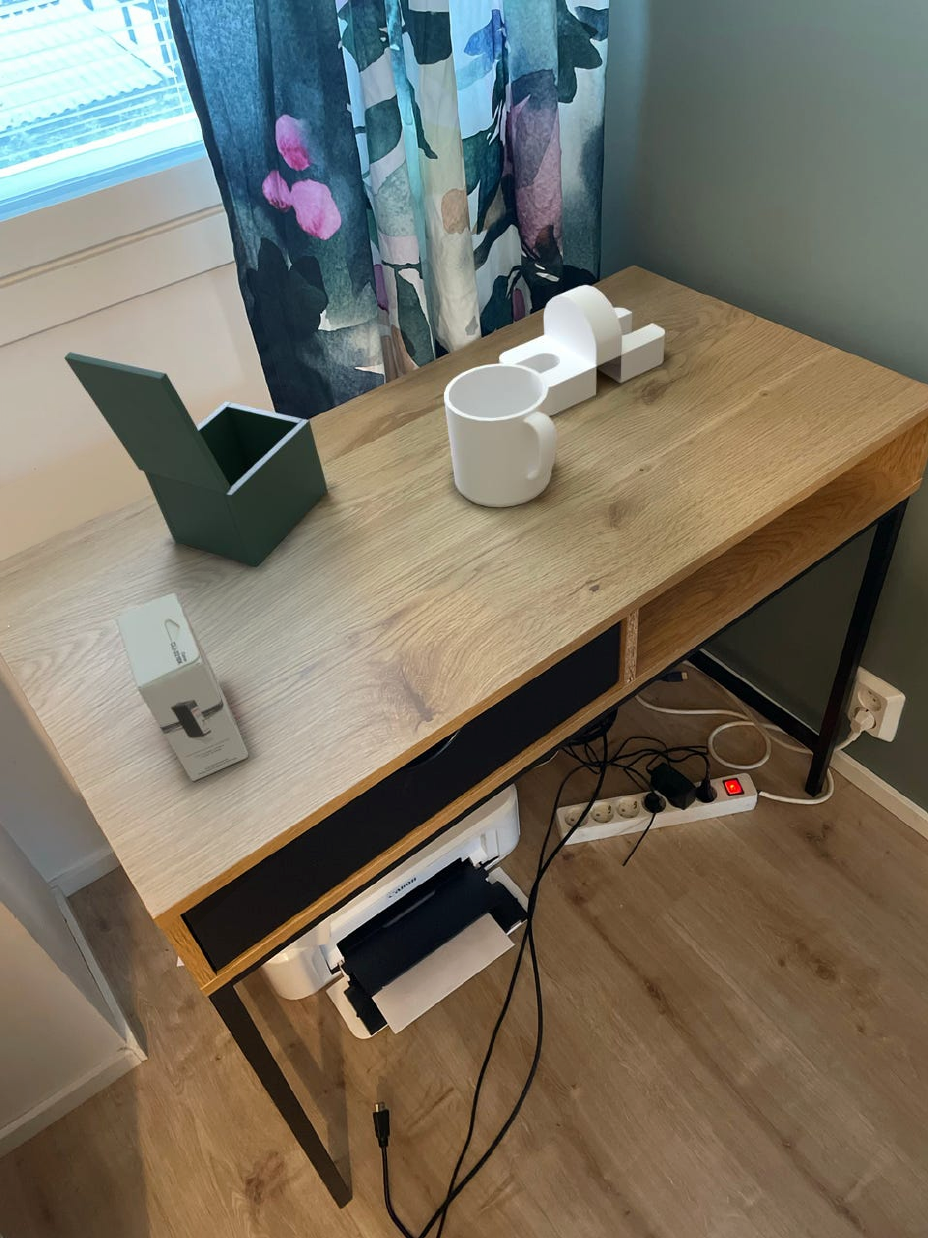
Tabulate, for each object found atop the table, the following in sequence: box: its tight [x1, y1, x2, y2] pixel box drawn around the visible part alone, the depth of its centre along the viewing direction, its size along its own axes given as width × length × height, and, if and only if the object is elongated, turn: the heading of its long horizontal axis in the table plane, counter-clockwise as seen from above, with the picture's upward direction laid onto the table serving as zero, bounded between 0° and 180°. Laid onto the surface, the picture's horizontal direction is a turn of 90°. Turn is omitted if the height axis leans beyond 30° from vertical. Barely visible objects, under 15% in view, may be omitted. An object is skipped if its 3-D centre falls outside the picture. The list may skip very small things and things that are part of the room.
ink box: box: [114, 592, 249, 782], centre depth 69 cm, size 8×5×12 cm, turn 27°
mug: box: [443, 363, 558, 508], centre depth 88 cm, size 13×10×10 cm
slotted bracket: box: [498, 284, 666, 416], centre depth 102 cm, size 18×10×10 cm, turn 123°
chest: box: [143, 401, 328, 568], centre depth 89 cm, size 13×11×9 cm
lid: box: [64, 351, 231, 494], centre depth 77 cm, size 13×11×1 cm
